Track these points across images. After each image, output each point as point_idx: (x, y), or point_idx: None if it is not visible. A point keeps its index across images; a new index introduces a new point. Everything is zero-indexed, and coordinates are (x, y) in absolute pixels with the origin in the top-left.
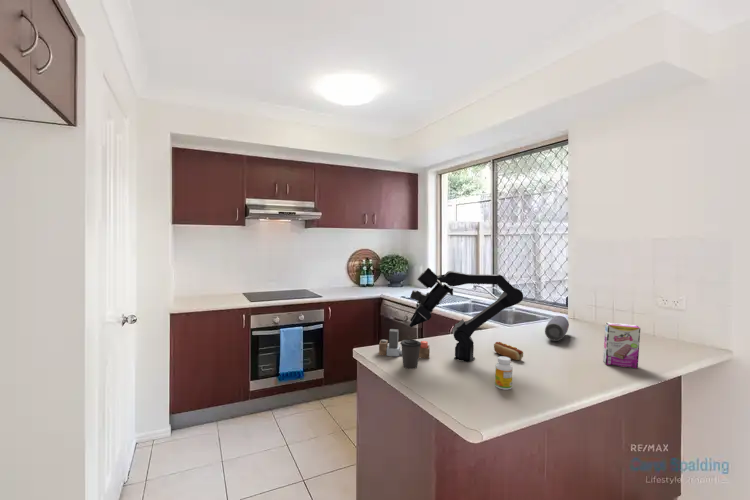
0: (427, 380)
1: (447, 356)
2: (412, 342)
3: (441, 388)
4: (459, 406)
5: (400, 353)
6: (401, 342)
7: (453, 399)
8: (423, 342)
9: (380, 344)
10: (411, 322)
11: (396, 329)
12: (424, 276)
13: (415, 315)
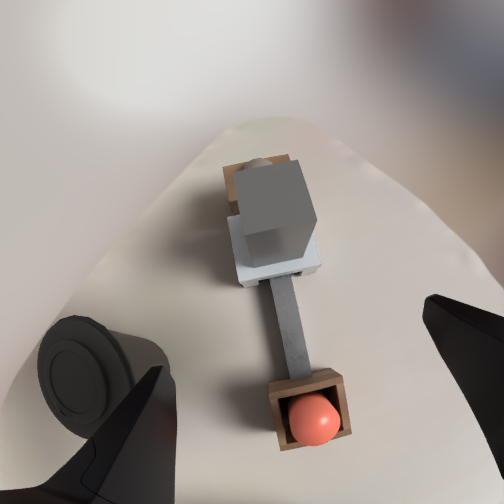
0: (63, 428)
1: (344, 483)
2: (53, 393)
3: (44, 454)
4: (10, 465)
5: (271, 288)
6: (57, 325)
7: (21, 464)
8: (303, 424)
9: (224, 176)
10: (126, 398)
11: (309, 204)
12: None
13: (78, 483)
